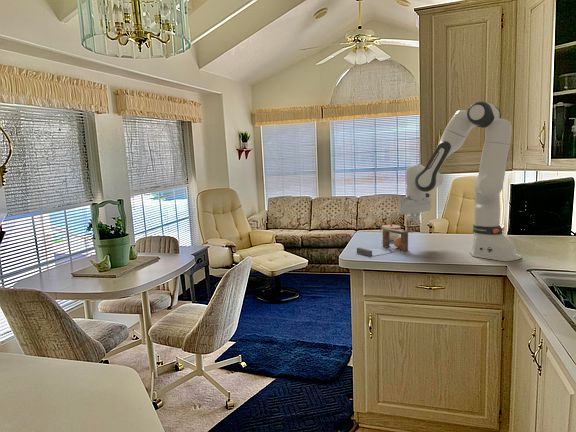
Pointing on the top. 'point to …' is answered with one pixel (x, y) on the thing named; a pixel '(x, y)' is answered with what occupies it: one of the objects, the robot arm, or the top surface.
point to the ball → (397, 242)
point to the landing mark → (378, 252)
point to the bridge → (403, 233)
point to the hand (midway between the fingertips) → (415, 221)
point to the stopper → (364, 251)
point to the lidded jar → (392, 235)
